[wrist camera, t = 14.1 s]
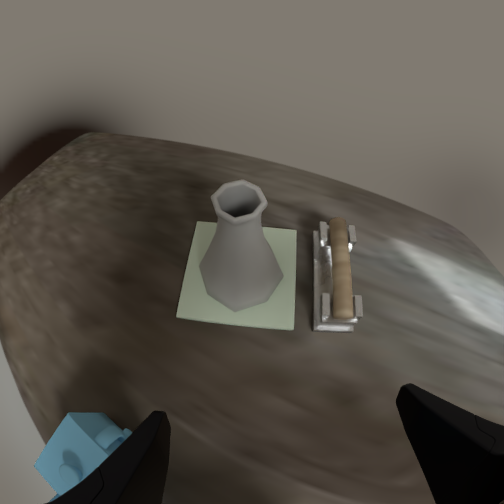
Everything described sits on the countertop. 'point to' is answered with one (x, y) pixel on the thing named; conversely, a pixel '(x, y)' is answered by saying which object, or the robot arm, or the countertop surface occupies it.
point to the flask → (239, 249)
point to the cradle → (329, 284)
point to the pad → (260, 316)
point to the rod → (340, 270)
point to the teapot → (78, 449)
